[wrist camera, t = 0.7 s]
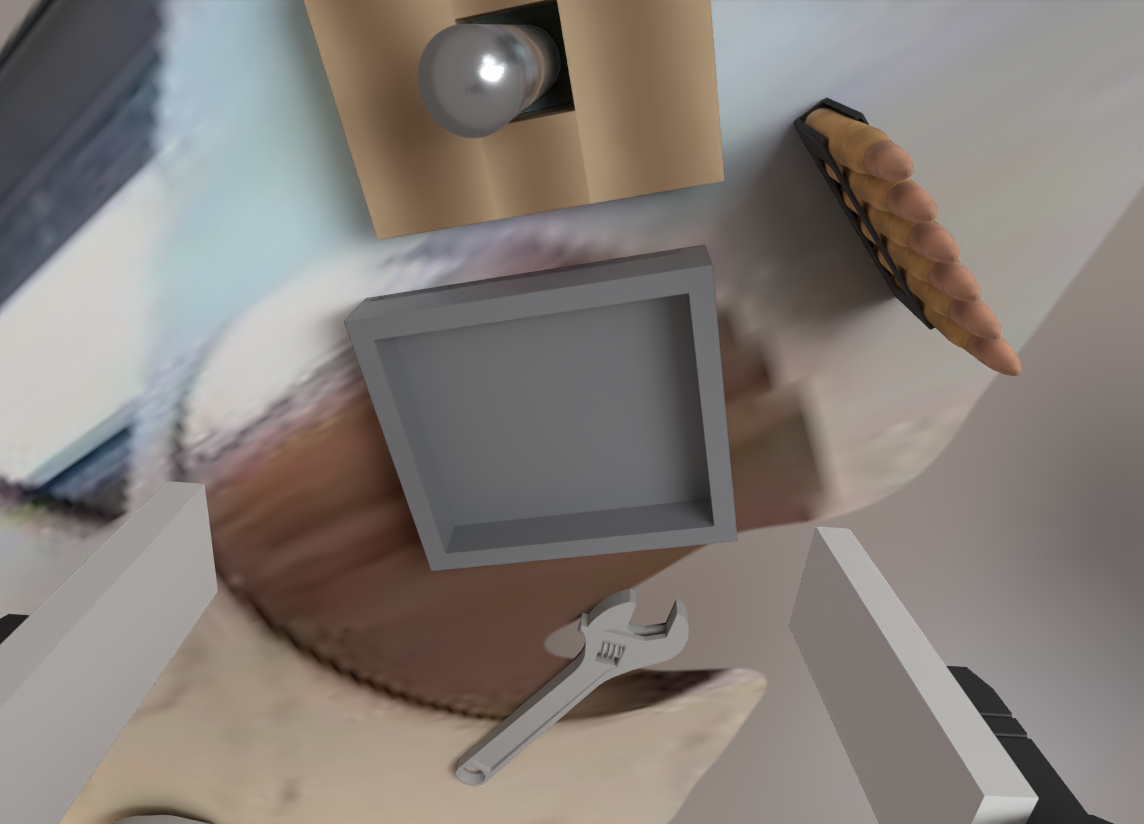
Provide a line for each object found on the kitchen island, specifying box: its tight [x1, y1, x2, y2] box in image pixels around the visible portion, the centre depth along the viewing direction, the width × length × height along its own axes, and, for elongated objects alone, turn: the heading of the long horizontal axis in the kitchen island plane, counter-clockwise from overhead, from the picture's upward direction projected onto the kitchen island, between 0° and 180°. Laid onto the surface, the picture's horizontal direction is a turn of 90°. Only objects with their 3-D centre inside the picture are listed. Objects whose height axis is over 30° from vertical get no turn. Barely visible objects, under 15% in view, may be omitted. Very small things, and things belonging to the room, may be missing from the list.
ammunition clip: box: [794, 98, 1021, 376], centre depth 29 cm, size 11×2×12 cm, turn 38°
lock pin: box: [418, 24, 560, 138], centre depth 27 cm, size 3×3×14 cm
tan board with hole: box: [303, 0, 724, 240], centre depth 31 cm, size 16×12×4 cm
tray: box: [344, 245, 737, 571], centre depth 40 cm, size 18×16×4 cm
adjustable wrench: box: [456, 588, 689, 786], centre depth 52 cm, size 25×6×2 cm, turn 138°
